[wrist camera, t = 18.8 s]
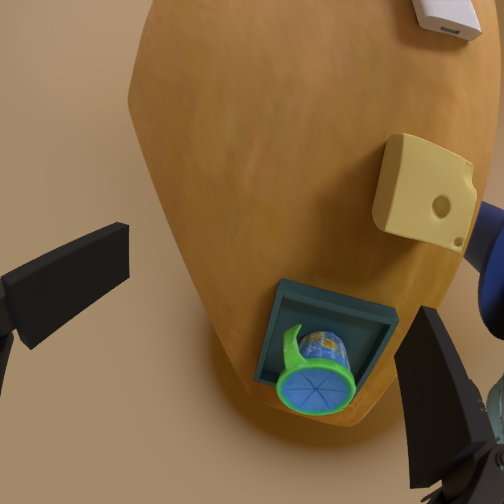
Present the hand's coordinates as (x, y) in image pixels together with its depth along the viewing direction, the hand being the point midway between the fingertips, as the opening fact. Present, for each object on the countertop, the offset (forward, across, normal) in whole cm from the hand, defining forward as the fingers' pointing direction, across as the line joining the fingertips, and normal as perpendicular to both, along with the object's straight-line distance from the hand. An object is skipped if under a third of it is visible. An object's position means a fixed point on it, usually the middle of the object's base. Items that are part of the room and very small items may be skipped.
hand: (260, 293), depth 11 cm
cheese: (+27, +13, +5) cm, 30 cm away
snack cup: (+26, +8, -22) cm, 35 cm away
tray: (+27, +8, -22) cm, 36 cm away
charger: (+27, +14, +37) cm, 48 cm away
